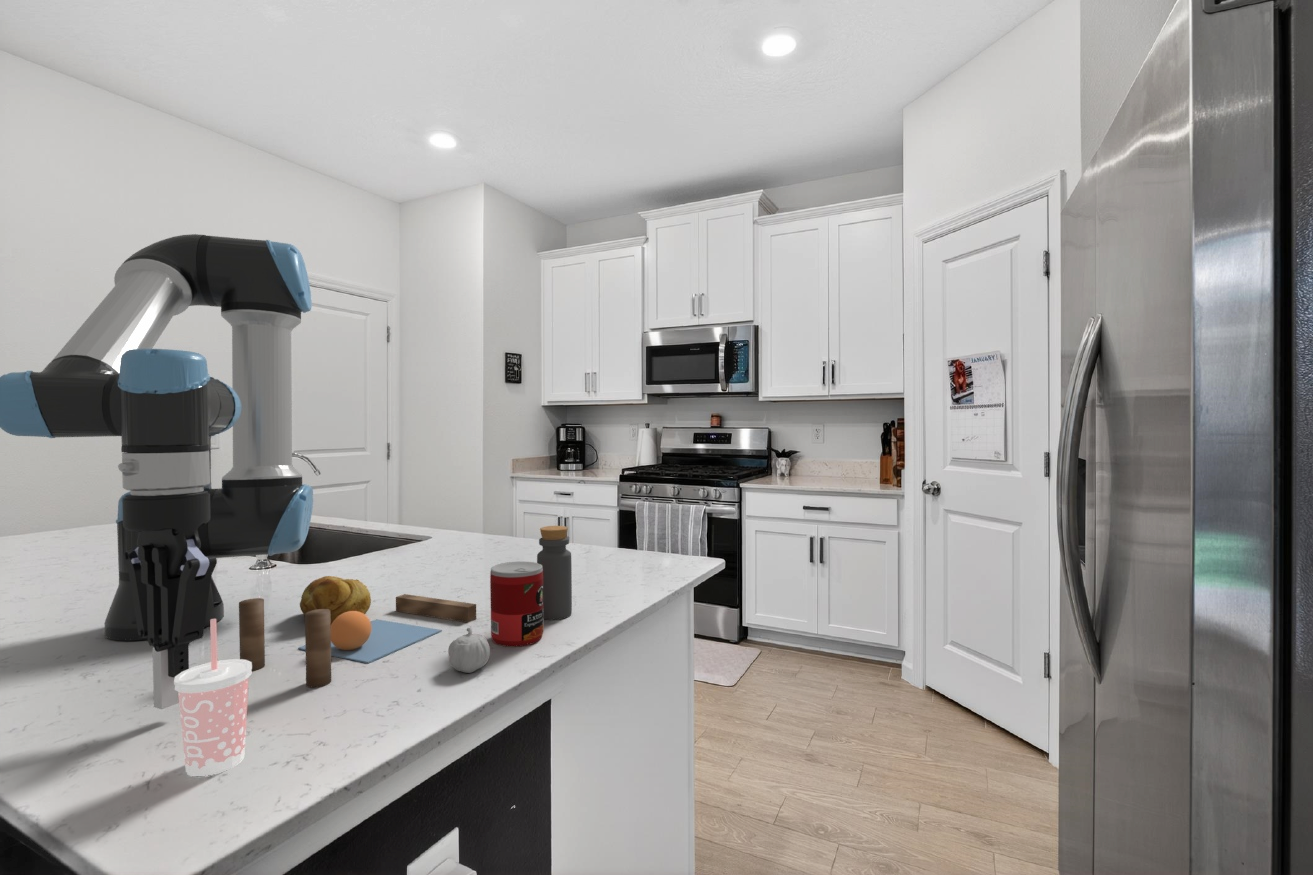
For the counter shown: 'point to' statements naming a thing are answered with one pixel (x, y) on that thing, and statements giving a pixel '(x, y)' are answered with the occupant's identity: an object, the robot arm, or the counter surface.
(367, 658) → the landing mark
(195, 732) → the beverage cup
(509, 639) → the canned food
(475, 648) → the garlic
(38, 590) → the counter surface
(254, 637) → the left post
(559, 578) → the bottle
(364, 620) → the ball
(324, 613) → the right post
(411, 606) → the bar
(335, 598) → the bread roll
